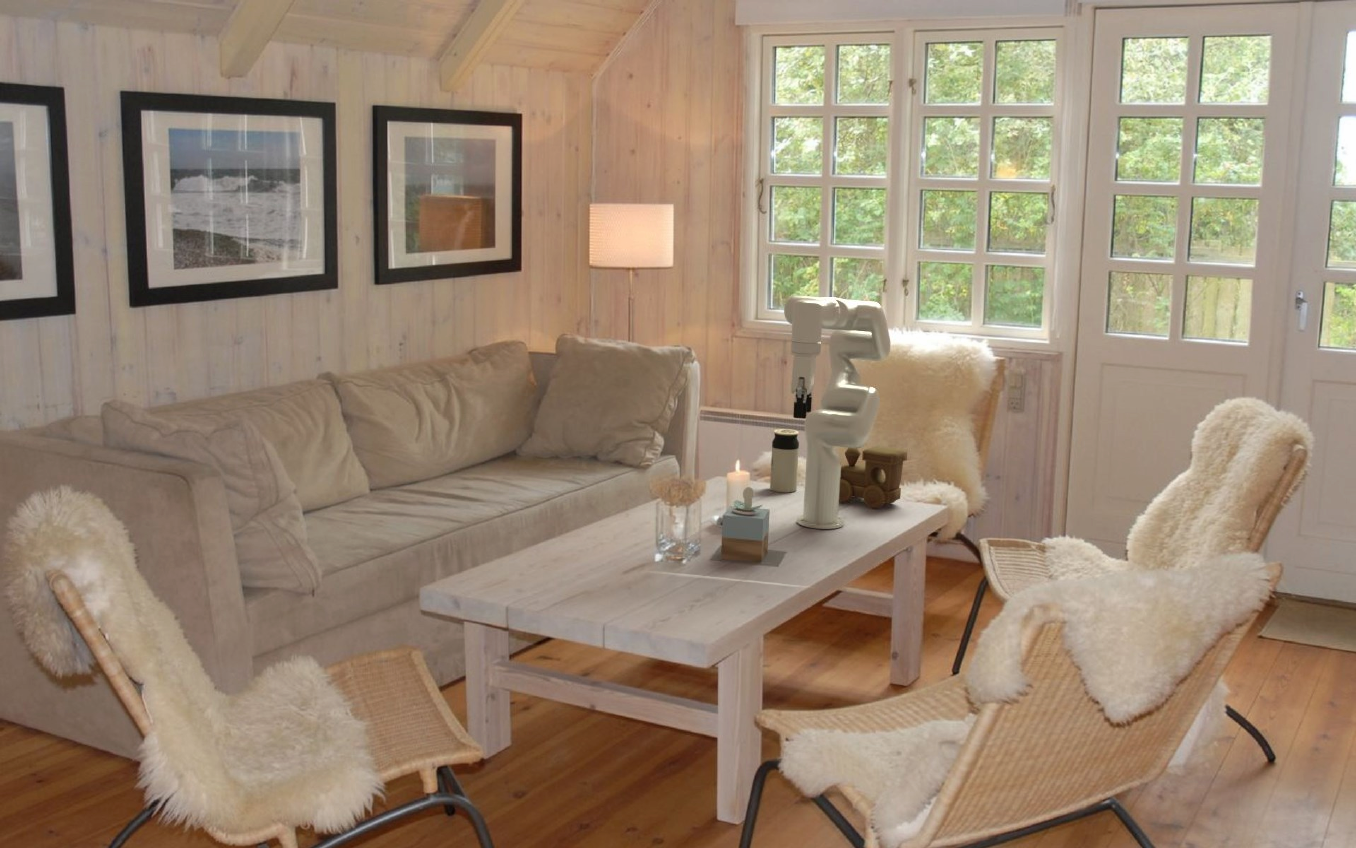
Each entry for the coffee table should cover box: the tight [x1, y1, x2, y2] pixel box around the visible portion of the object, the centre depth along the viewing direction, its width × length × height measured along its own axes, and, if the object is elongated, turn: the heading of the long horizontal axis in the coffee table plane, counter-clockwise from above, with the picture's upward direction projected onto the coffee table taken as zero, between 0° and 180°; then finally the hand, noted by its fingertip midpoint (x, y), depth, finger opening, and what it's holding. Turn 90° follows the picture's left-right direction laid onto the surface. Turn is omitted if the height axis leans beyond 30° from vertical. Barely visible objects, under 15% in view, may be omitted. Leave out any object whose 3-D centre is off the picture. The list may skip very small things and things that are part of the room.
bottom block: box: [721, 530, 770, 563], centre depth 347 cm, size 10×10×6 cm
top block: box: [721, 505, 771, 541], centre depth 346 cm, size 10×10×6 cm
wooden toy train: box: [839, 446, 908, 510], centre depth 408 cm, size 20×11×17 cm, turn 55°
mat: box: [709, 544, 787, 568], centre depth 348 cm, size 14×17×1 cm
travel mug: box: [769, 428, 800, 494], centre depth 421 cm, size 8×8×18 cm
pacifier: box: [732, 486, 763, 515], centre depth 345 cm, size 7×6×6 cm
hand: (802, 414), depth 359 cm, fingers open, 9 cm apart
